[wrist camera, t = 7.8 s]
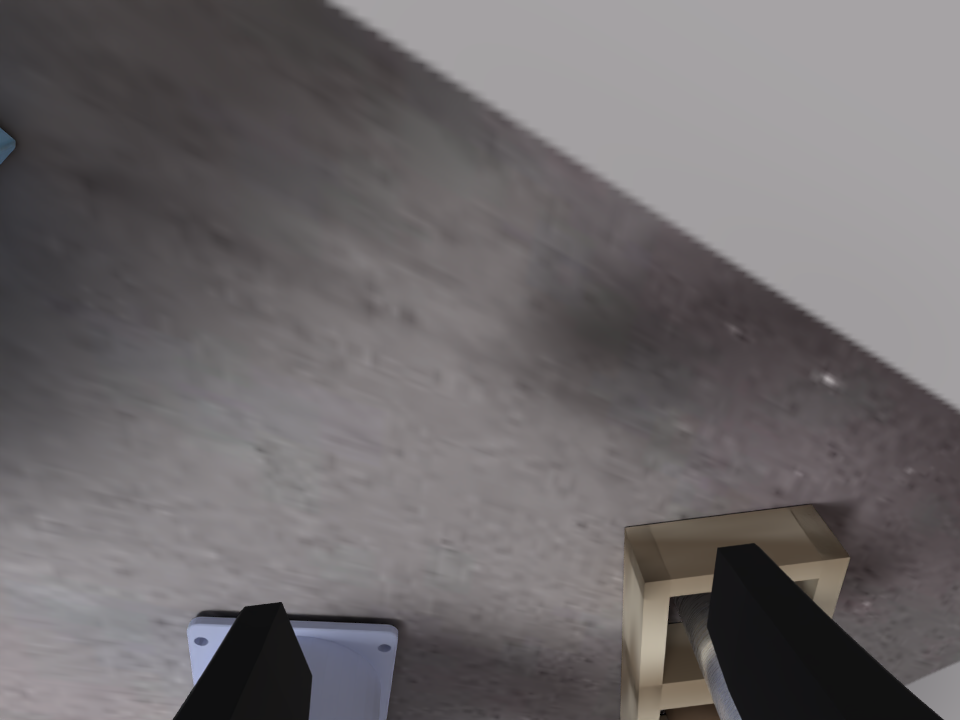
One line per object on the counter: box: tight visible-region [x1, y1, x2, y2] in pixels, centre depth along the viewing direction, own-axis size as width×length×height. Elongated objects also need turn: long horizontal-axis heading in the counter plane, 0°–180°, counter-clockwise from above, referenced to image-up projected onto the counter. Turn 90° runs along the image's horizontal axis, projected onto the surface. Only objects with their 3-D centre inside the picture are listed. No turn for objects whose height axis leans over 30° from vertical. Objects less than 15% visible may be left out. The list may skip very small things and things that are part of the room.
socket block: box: [620, 504, 850, 720], centre depth 24 cm, size 14×7×6 cm, turn 6°
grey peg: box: [672, 592, 742, 720], centre depth 21 cm, size 4×4×8 cm
